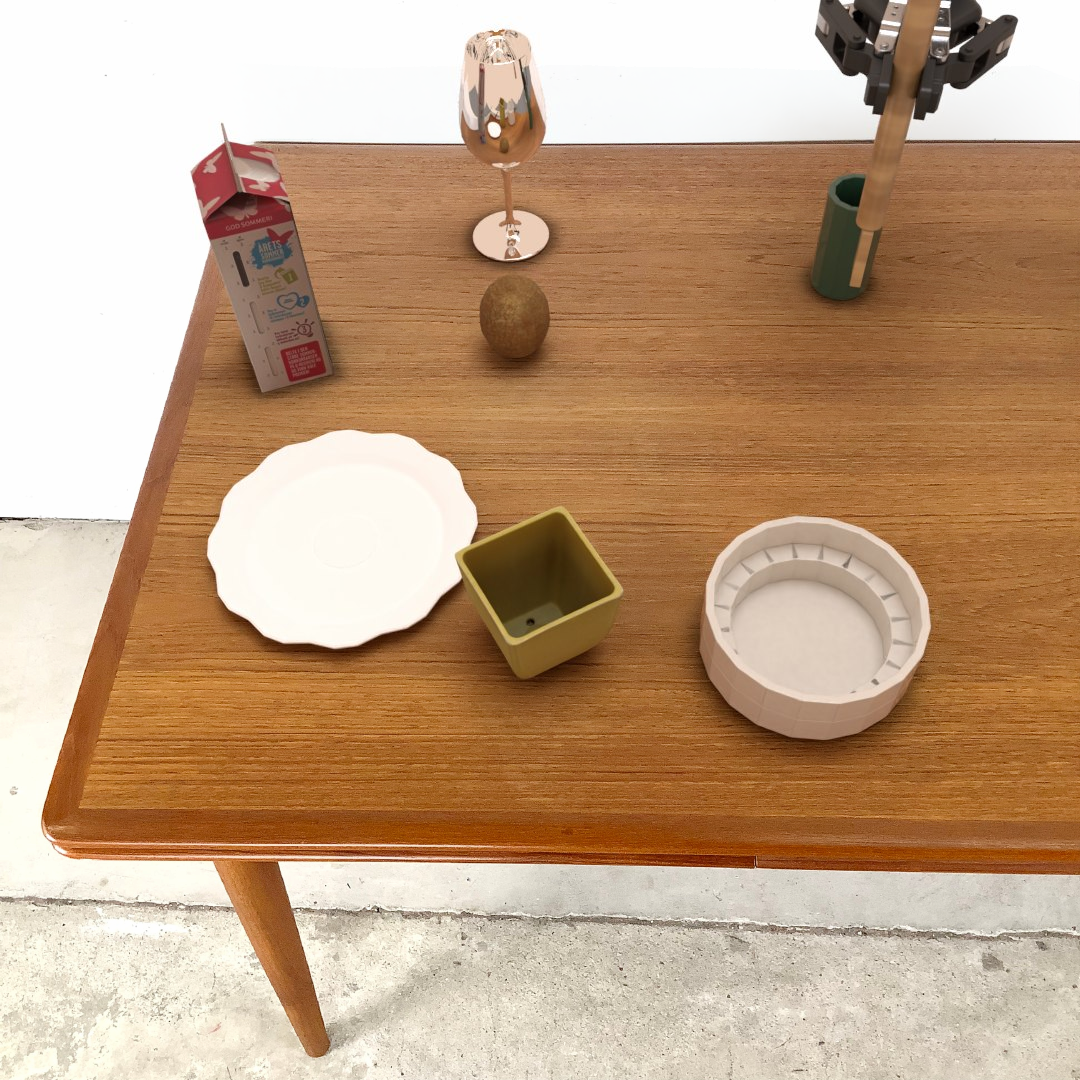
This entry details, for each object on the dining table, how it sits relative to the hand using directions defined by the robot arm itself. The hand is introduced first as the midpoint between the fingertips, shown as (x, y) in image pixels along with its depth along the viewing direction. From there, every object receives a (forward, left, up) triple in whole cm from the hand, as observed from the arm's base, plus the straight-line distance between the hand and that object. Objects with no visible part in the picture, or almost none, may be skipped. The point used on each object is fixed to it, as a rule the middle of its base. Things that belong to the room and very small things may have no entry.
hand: (901, 104), depth 71 cm
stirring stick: (-3, -1, -16) cm, 17 cm away
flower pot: (+31, -4, -30) cm, 44 cm away
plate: (+35, -21, -30) cm, 51 cm away
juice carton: (+24, -41, -30) cm, 56 cm away
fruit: (+10, -26, -30) cm, 41 cm away
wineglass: (-1, -37, -30) cm, 47 cm away
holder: (-16, -9, -30) cm, 35 cm away
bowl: (+19, +11, -30) cm, 37 cm away
